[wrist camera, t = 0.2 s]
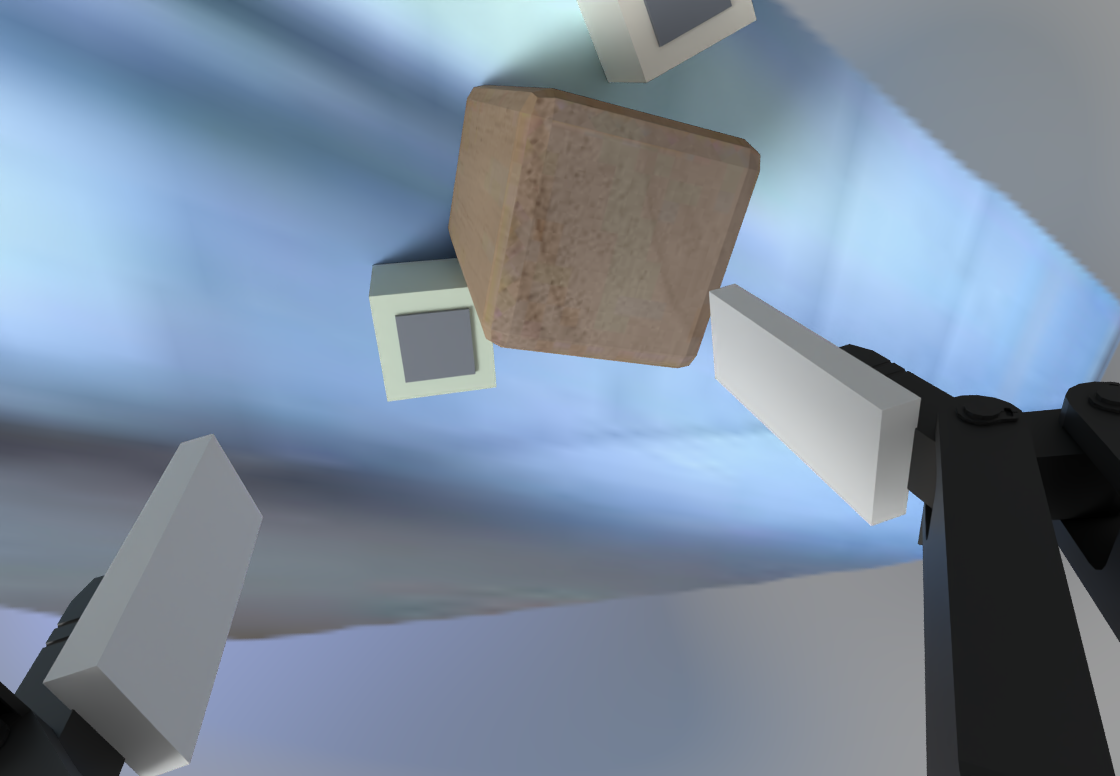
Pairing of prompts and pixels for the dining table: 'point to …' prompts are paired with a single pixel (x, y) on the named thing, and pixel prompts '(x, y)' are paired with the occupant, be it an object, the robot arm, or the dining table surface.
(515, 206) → the wooden block
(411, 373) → the sage labelled cube
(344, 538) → the dining table surface
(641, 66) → the cream labelled cube
